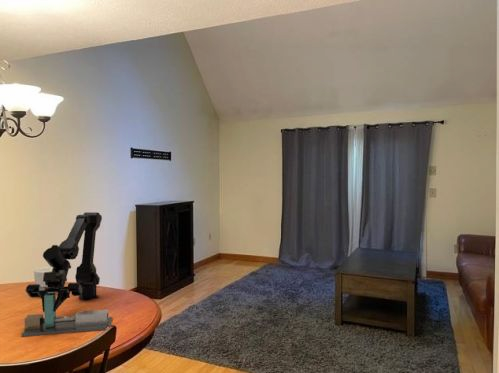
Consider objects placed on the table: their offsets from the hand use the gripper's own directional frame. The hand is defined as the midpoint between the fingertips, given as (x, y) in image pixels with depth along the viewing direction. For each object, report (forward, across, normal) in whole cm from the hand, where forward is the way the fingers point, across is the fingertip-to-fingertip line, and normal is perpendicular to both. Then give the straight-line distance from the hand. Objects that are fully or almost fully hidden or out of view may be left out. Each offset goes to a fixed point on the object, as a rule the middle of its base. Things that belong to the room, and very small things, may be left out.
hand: (48, 311), depth 136 cm
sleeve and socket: (+4, +7, +6) cm, 10 cm away
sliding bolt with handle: (+3, +3, +5) cm, 7 cm away
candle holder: (-25, -18, +36) cm, 47 cm away
